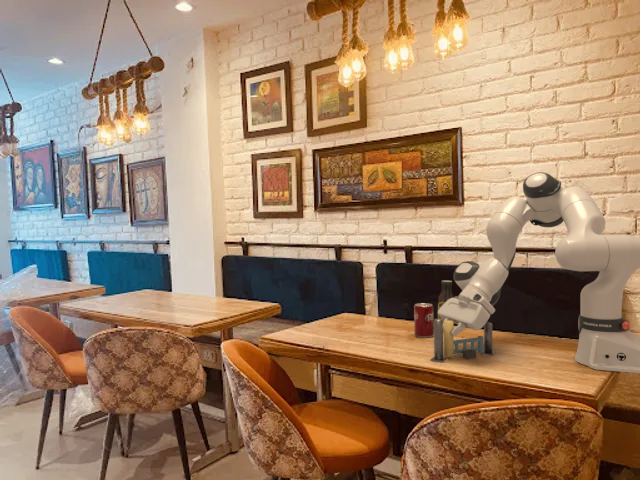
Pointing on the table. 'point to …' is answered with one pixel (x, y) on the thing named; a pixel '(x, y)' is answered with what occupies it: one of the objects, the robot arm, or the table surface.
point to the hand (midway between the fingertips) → (447, 333)
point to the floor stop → (469, 354)
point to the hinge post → (488, 340)
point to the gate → (458, 342)
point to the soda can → (424, 320)
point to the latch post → (438, 341)
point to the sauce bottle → (445, 294)
